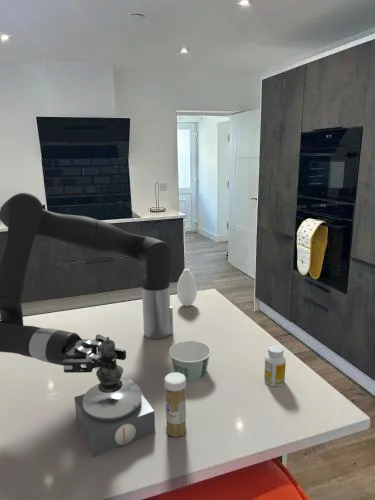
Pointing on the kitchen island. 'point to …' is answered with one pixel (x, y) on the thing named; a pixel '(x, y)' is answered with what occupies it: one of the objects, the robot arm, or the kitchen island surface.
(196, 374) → the food container
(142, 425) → the kitchen scale
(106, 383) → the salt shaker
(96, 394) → the scale pan
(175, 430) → the sprinkles bottle
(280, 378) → the supplement bottle
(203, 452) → the kitchen island surface
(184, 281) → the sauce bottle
